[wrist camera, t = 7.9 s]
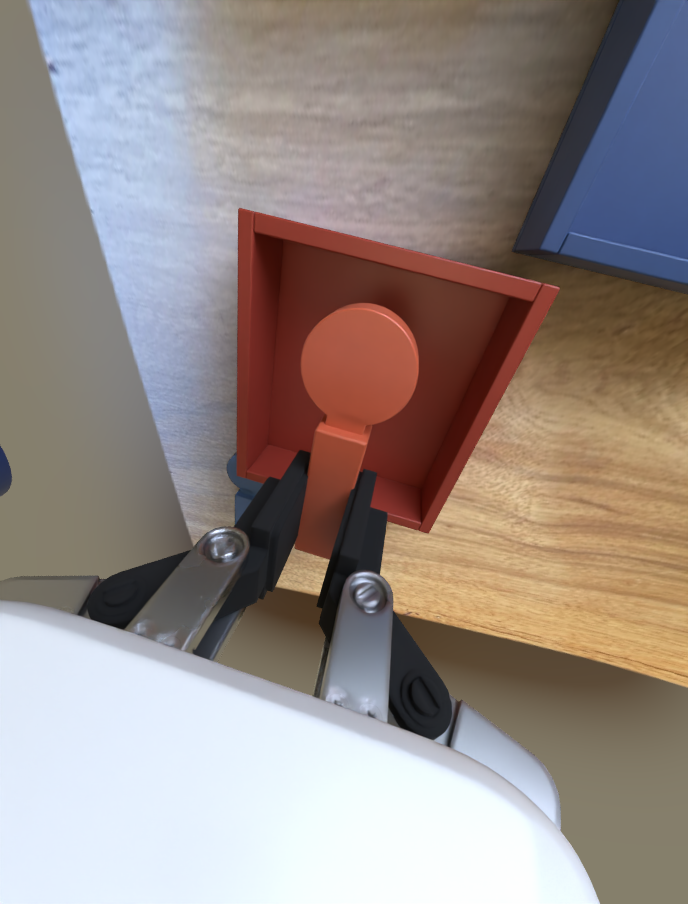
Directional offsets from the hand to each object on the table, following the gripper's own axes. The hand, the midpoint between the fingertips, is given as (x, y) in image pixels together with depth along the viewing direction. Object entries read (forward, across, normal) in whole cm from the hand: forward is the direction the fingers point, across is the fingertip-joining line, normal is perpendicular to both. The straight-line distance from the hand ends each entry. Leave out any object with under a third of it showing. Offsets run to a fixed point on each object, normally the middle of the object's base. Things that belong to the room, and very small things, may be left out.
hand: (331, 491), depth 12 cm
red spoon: (0, 0, -2) cm, 2 cm away
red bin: (+7, 0, -2) cm, 7 cm away
